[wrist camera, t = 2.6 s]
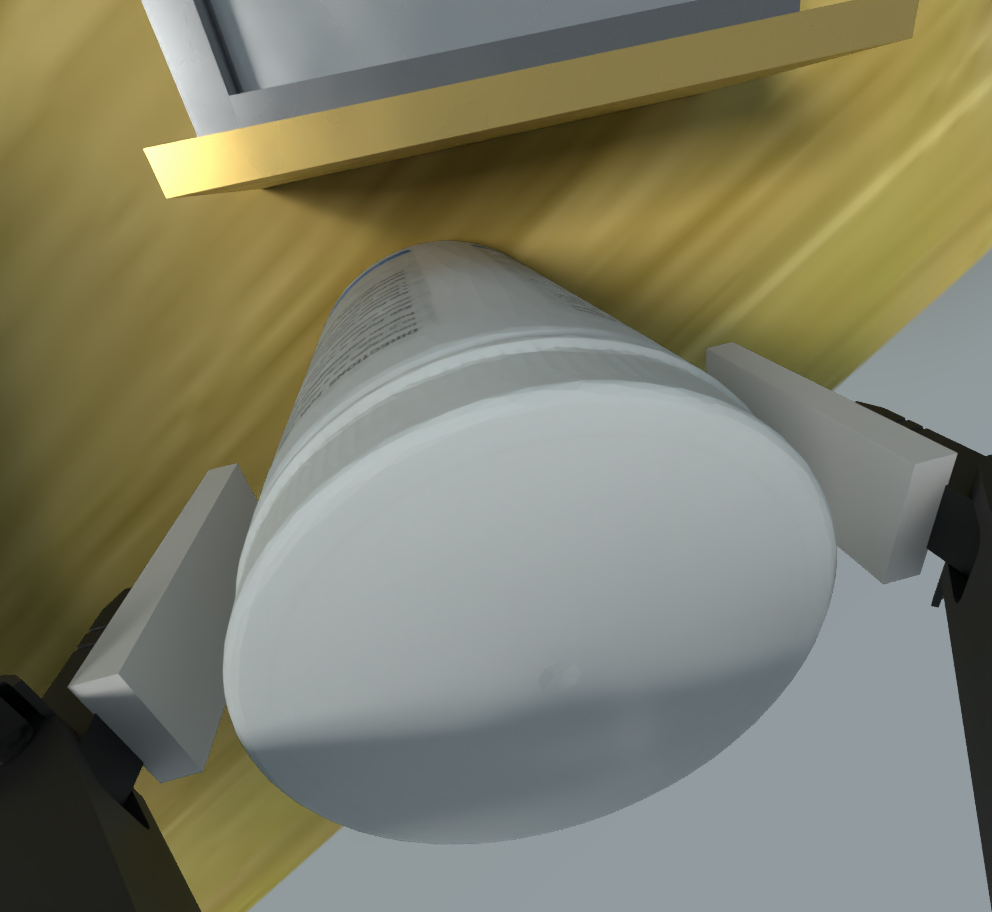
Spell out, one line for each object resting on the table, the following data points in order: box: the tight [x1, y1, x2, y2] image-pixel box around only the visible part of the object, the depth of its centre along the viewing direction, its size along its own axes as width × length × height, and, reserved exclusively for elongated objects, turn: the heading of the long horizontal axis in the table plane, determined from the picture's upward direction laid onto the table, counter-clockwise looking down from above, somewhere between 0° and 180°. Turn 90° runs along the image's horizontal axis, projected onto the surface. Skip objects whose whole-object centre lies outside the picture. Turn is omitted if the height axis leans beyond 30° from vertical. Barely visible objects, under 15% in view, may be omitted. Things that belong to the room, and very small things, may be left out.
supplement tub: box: [223, 240, 837, 844], centre depth 14 cm, size 10×10×15 cm
